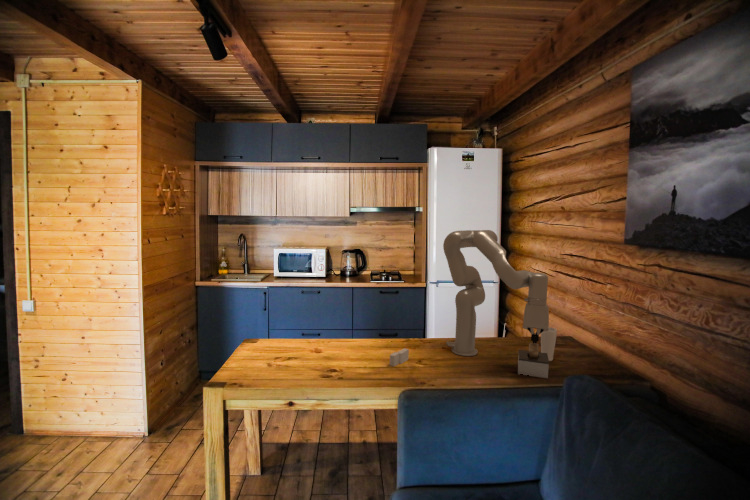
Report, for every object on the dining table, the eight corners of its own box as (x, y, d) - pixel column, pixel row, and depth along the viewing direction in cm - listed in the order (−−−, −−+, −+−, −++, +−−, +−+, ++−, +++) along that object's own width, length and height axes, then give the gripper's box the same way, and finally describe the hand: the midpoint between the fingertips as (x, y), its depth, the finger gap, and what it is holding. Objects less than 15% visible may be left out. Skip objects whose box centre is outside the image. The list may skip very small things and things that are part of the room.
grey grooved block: (407, 357, 199) (408, 345, 198) (417, 366, 188) (418, 354, 187) (377, 360, 194) (378, 348, 193) (386, 369, 183) (387, 357, 182)
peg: (528, 358, 183) (529, 345, 182) (528, 355, 186) (529, 342, 186) (538, 360, 181) (539, 346, 181) (537, 356, 185) (538, 343, 184)
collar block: (517, 374, 181) (518, 358, 180) (517, 364, 192) (518, 349, 191) (547, 378, 177) (548, 362, 176) (546, 368, 188) (547, 353, 187)
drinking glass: (555, 362, 195) (558, 331, 194) (540, 361, 197) (542, 330, 195) (552, 357, 202) (555, 327, 200) (538, 356, 203) (540, 326, 202)
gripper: (518, 301, 180) (516, 343, 182) (556, 305, 175) (553, 347, 177) (518, 298, 187) (516, 338, 189) (555, 301, 182) (552, 342, 184)
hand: (534, 342), depth 183 cm, fingers closed
